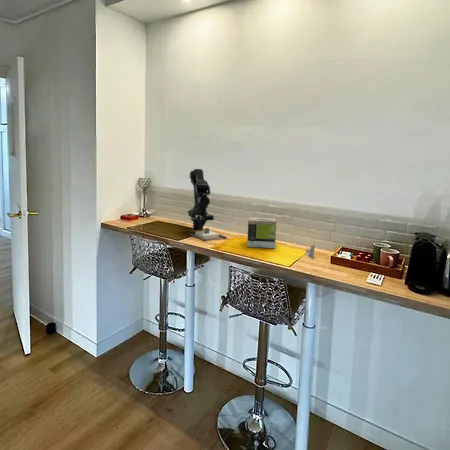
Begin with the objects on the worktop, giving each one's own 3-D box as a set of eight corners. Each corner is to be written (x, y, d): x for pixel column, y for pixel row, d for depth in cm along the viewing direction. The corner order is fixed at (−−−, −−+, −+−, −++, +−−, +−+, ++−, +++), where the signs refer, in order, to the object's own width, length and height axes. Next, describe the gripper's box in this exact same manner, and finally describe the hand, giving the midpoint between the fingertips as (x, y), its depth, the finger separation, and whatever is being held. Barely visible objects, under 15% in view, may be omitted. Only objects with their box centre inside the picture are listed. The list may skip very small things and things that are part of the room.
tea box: (274, 244, 195) (276, 218, 192) (274, 249, 185) (276, 221, 182) (247, 242, 196) (248, 216, 193) (246, 247, 186) (248, 220, 183)
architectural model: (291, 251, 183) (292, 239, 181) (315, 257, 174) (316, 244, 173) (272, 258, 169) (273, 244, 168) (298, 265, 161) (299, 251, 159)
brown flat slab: (190, 236, 204) (190, 233, 204) (211, 233, 213) (211, 231, 213) (204, 242, 192) (204, 239, 191) (226, 239, 200) (226, 236, 200)
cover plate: (195, 235, 205) (195, 227, 204) (209, 233, 210) (209, 226, 209) (204, 239, 197) (204, 231, 196) (218, 237, 202) (219, 229, 201)
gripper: (182, 202, 208) (181, 227, 211) (197, 206, 193) (197, 234, 196) (198, 201, 215) (197, 226, 218) (214, 205, 200) (213, 232, 203)
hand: (200, 229), depth 208 cm, fingers closed
